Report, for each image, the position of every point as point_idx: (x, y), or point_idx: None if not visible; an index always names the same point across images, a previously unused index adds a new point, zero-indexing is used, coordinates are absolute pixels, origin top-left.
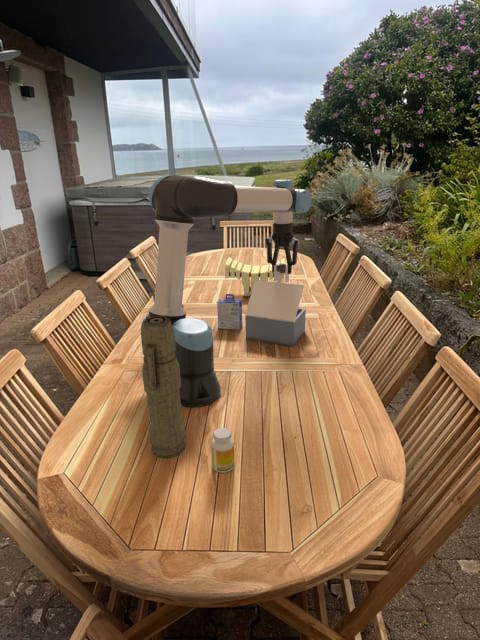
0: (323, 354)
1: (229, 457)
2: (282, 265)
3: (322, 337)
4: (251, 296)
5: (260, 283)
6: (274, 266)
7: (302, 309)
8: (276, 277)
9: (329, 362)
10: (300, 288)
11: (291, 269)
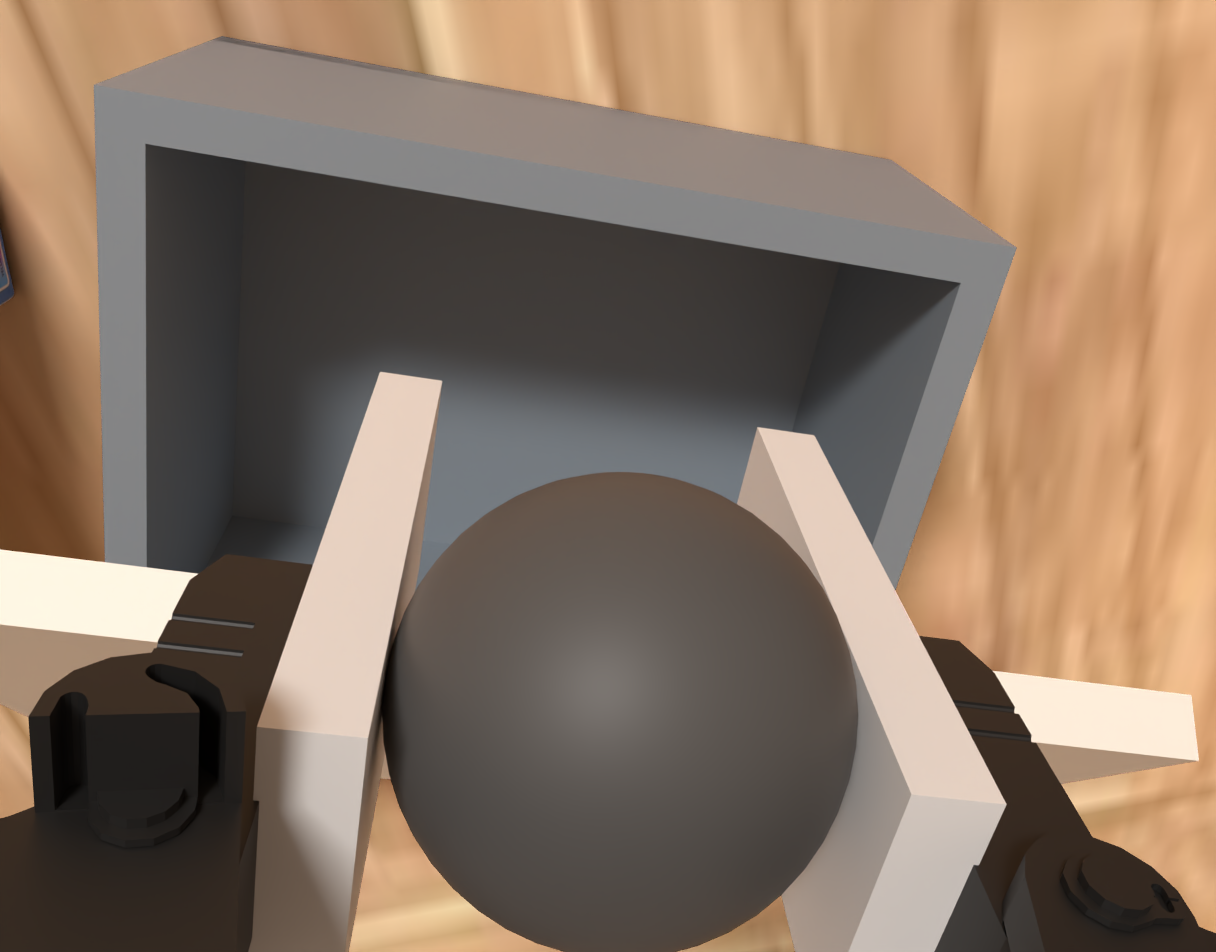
0: (1047, 677)
1: None
2: (656, 950)
3: (1098, 300)
4: (10, 701)
5: (10, 643)
6: (269, 945)
7: (956, 280)
8: (414, 568)
9: (1077, 790)
10: (1085, 768)
11: (1029, 774)
